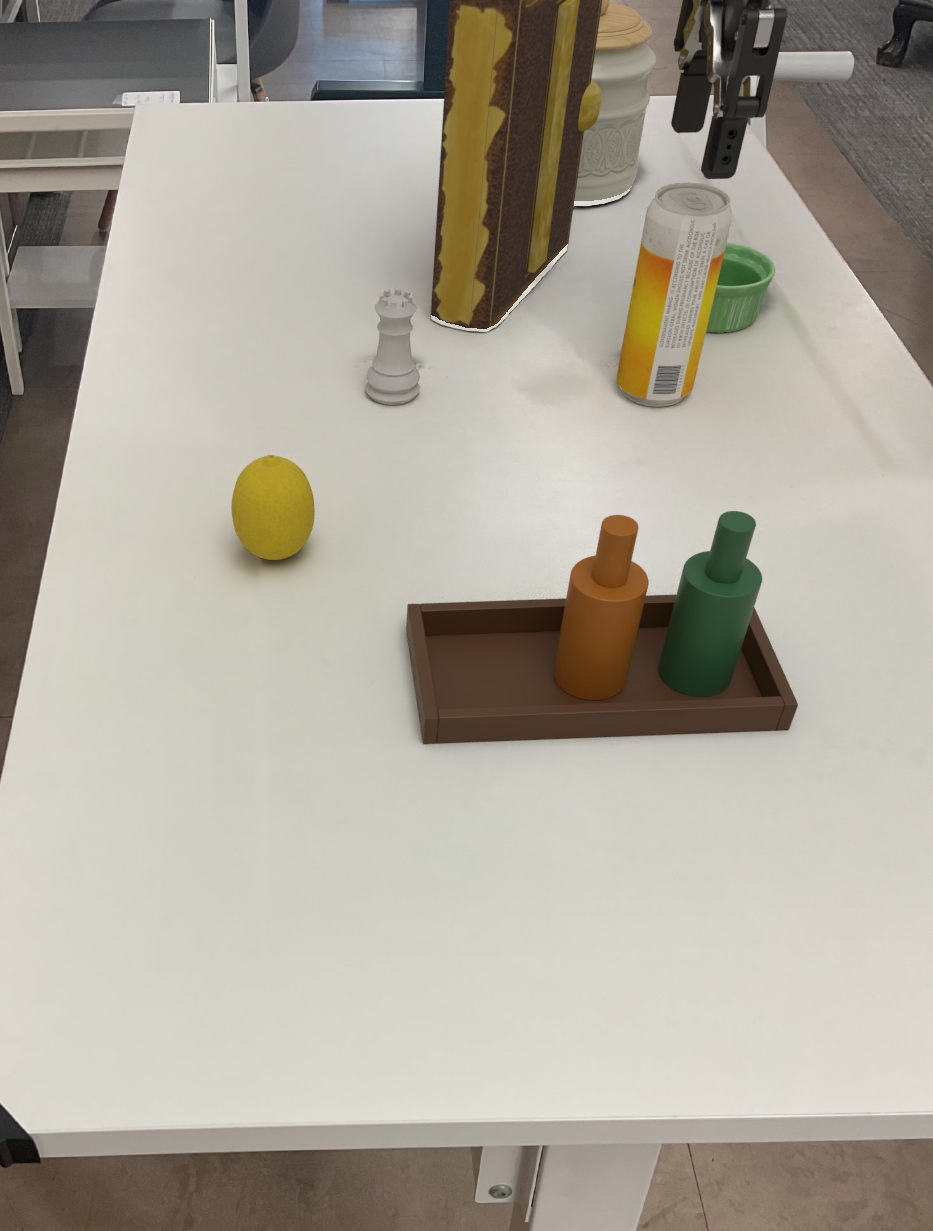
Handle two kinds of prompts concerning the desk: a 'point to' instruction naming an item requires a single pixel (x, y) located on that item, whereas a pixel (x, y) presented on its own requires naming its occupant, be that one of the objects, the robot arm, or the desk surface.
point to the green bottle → (712, 611)
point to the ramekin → (740, 288)
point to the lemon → (273, 507)
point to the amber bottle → (602, 615)
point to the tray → (540, 710)
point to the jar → (616, 104)
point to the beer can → (673, 292)
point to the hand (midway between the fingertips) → (700, 153)
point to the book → (509, 148)
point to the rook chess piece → (394, 351)
